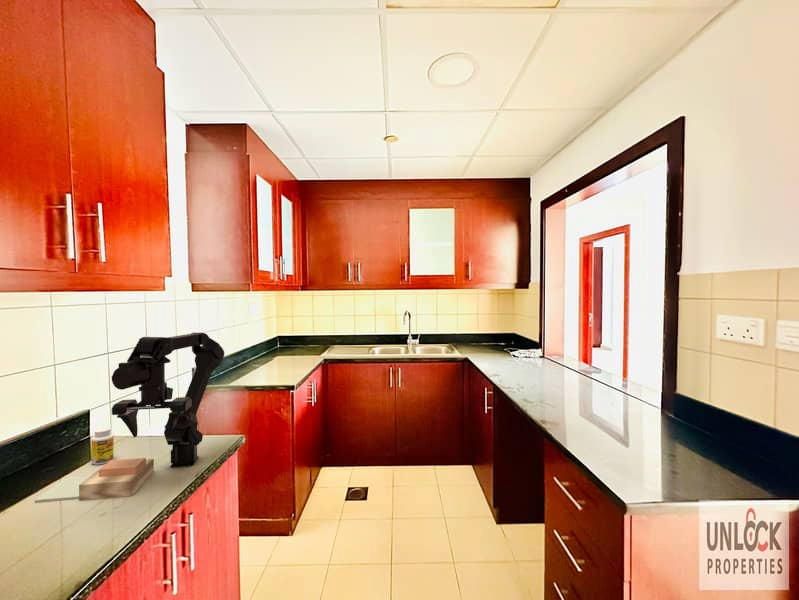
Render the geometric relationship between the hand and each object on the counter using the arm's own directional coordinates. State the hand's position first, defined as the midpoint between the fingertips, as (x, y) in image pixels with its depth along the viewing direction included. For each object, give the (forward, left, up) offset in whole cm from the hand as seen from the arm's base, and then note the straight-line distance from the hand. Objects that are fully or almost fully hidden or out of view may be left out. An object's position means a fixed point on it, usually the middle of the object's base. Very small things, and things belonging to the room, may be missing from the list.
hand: (153, 435), depth 110 cm
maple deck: (+9, +1, -13) cm, 16 cm away
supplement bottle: (+22, -17, -13) cm, 31 cm away
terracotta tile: (+8, +1, -9) cm, 12 cm away
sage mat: (+20, +1, -13) cm, 24 cm away
